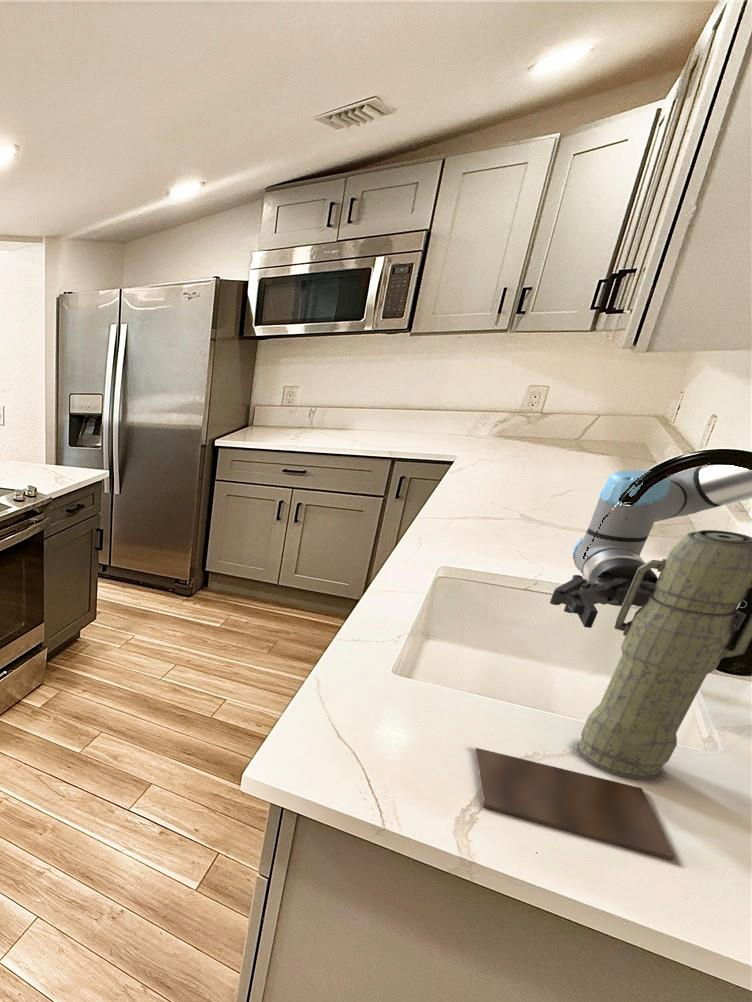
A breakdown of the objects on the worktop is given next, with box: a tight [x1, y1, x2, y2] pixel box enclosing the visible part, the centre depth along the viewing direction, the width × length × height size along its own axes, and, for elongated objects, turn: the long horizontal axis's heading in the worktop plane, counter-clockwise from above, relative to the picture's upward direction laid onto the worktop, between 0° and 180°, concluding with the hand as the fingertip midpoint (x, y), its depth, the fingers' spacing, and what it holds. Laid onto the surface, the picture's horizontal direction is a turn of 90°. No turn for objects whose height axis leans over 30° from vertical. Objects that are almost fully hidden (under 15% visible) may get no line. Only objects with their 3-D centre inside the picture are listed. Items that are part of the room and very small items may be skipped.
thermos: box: [576, 529, 752, 781], centre depth 83 cm, size 9×12×35 cm
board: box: [474, 747, 675, 861], centre depth 84 cm, size 18×14×1 cm
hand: (656, 629), depth 87 cm, fingers open, 13 cm apart
